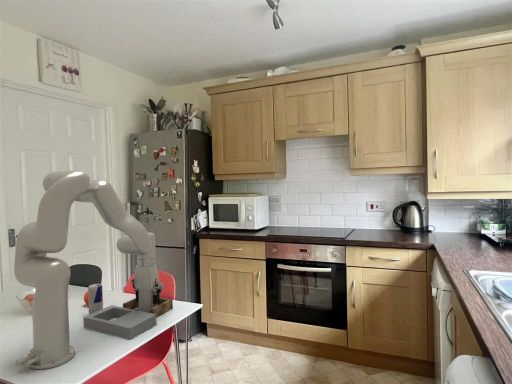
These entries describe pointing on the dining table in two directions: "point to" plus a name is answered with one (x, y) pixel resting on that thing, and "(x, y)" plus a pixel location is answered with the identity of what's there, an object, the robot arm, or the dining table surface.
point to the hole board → (120, 321)
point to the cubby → (158, 310)
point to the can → (146, 300)
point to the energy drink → (95, 298)
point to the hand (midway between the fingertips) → (147, 301)
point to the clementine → (86, 298)
